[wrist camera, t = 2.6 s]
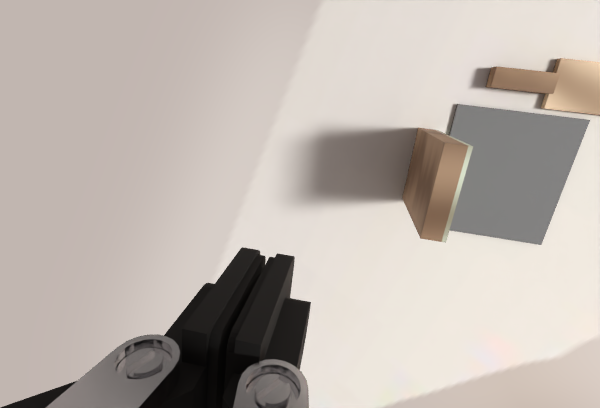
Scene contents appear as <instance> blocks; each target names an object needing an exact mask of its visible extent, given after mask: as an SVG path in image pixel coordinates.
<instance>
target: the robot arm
mask: <svg viewBox="0 0 600 408" xmlns="http://www.w3.org/2000/svg"><path fill="white" fill-rule="evenodd" d="M293 268H294V256H288V255H283V254H277V255H276V257H275V258H273V257H269V259H268V261H267V263H266V265H265V256H262V255H260V251H259V250H254V249H248V248H241V249H240V251H239V252H238V253H237V255H236V256H235V257H234V259H233V260H232V261H231V263H230V264H229V266H228V267H227V268H226V270H225V271H224V272H223V274H222V275H221V276H220V278H219V279H218V280H217V282H216V283H215V284H211V283H206V284H205V285H204V286H203V287H202V288H201V289H200V291H199V292H198V293H197V295H196V296H195V297H194V299H193V300H192V301H191V302H190V303H189V305H188V306H187V307H186V309H185V310H184V311H183V312H182V313H181V315H180V316H179V317H178V319H177V320H176V321H175V322H174V324H173V325H172V326H171V327H170V329H169V330H168V331H167V332H166V334H165V335H164V336H162V335H144V336H140V337H136V338H133V339H131V340H128V341H126V342H125V343H124V344H122V345H120V346H119V347H117V348H116V349H115V350H114V351H112V352H111V353H110V354H109V355H108V356H106V357H105V358H104V359H103V360H102V361H101V362H99V363H98V364H97V365H96V366H95V367H93V368H92V369H91V370H90V371H89V372H87V373H86V374H85V375H84V376H83V377H81V378H80V379H79V380H78V381H76V382H73V383H70V384H67V385H64V386H61V387H58V388H55V389H52V390H50V391H47V392H44V393H41V394H38V395H35V396H32V397H29V398H27V399H24V400H21V401H18V402H15V403H12V404H9V405H7V406H4V407H1V408H309V398H308V385H307V381H306V379H305V377H304V375H303V374H302V372H301V371H300V365H301V359H302V354H303V349H304V343H305V338H306V332H307V325H308V319H309V312H310V304H311V302H307V301H301V300H296V299H291V298H290V293H291V285H292V276H293Z"/></svg>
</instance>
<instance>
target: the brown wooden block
mask: <svg viewBox="0 0 600 408" xmlns="http://www.w3.org/2000/svg"><path fill="white" fill-rule="evenodd" d="M472 149H473V146H471V145H469V144H467V143H464V142H462V141H460V140H458V139H456V138H454V137H451V136H449V135H447V134H445V133H443V132H440V131H438V130H431V129H424V128H418V131H417V135H416V140H415V144H414V148H413V153H412V157H411V162H410V166H409V170H408V175H407V179H406V184H405V188H404V193H403V197H402V198H403V201H404V203H405V205H406V207H407V210H408V212H409V214H410V216H411V218H412V221H413V223H414V225H415V227H416V229H417V232H418V234H419V236H420V238H421V239H428V240H434V241H440V242H446V240H447V237H448V233H449V230H450V226H451V223H452V219H453V216H454V212H455V209H456V205H457V202H458V198H459V195H460V191H461V188H462V184H463V181H464V177H465V174H466V170H467V167H468V163H469V160H470V156H471V153H472Z"/></svg>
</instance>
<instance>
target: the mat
mask: <svg viewBox="0 0 600 408" xmlns="http://www.w3.org/2000/svg"><path fill="white" fill-rule="evenodd" d="M589 121H590V120H585V119H577V118H569V117H560V116H552V115H544V114H535V113H527V112H519V111H510V110H502V109H494V108H485V107H477V106H469V105H461V104H457V107H456V111H455V115H454V119H453V122H452V126H451V130H450V134H449V136H451V137H454V138H456V139H458V140H460V141H462V142H464V143H467V144H469V145H471V146H473V149H472V153H471V156H470V160H469V163H468V167H467V170H466V174H465V177H464V181H463V184H462V188H461V191H460V195H459V198H458V202H457V205H456V209H455V212H454V216H453V219H452V223H451V226H450V230H451V231H458V232H464V233H470V234H476V235H483V236H489V237H495V238H501V239H508V240H514V241H520V242H526V243H533V244H539V245H541V244H542V241H543V239H544V236H545V234H546V231H547V229H548V226H549V224H550V221H551V218H552V216H553V213H554V211H555V208H556V206H557V203H558V200H559V198H560V195H561V193H562V190H563V188H564V185H565V183H566V180H567V177H568V175H569V172H570V170H571V167H572V165H573V162H574V160H575V157H576V154H577V152H578V149H579V147H580V144H581V142H582V139H583V137H584V134H585V131H586V129H587V126H588V124H589Z"/></svg>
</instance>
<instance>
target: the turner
mask: <svg viewBox="0 0 600 408" xmlns="http://www.w3.org/2000/svg"><path fill="white" fill-rule="evenodd" d="M486 87H490V88H499V89H508V90H517V91H525V92H534V93H543V94H545V97H544V100H543V103H542V106H541V108H544V109H553V110H561V111H570V112H578V113H587V114H595V115H600V62H592V61H582V60H573V59H563V58H560V59H557V62H556V65H555V67H554V70H553V73H551V72H542V71H533V70H524V69H515V68H505V67H492V68H491V70H490V74H489V77H488V81H487V85H486Z"/></svg>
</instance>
